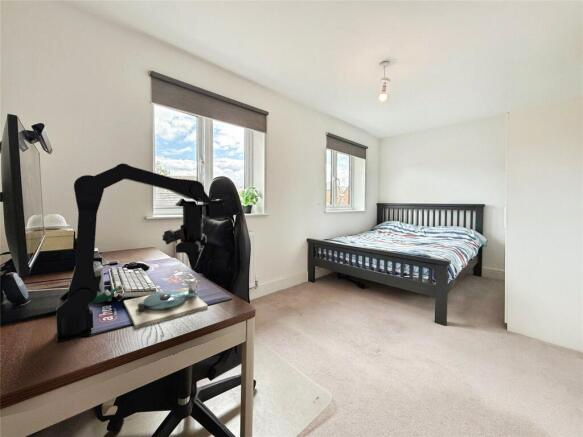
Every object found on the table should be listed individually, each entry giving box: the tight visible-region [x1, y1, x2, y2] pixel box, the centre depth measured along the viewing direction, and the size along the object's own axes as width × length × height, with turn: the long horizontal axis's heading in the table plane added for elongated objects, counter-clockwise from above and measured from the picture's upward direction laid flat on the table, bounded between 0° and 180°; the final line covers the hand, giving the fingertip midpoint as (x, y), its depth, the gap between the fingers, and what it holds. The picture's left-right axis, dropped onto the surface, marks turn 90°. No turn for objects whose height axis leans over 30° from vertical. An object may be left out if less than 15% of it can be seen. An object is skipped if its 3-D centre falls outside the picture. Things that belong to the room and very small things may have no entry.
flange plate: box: [137, 278, 198, 310], centre depth 81 cm, size 17×12×5 cm
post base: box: [123, 287, 208, 329], centre depth 80 cm, size 20×20×3 cm
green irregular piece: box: [90, 283, 125, 304], centre depth 84 cm, size 9×4×6 cm
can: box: [93, 260, 105, 296], centre depth 84 cm, size 8×8×12 cm
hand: (193, 268), depth 81 cm, fingers closed
